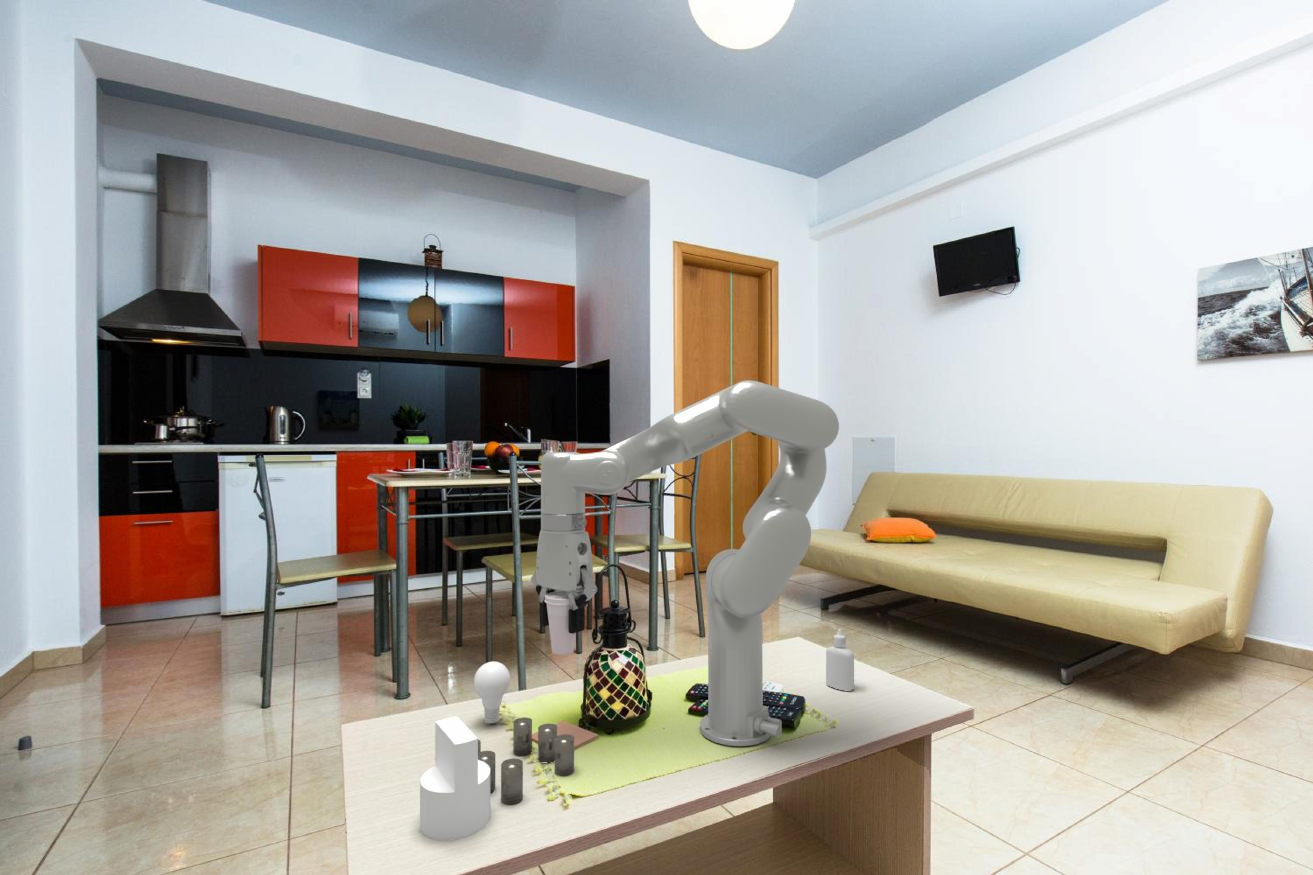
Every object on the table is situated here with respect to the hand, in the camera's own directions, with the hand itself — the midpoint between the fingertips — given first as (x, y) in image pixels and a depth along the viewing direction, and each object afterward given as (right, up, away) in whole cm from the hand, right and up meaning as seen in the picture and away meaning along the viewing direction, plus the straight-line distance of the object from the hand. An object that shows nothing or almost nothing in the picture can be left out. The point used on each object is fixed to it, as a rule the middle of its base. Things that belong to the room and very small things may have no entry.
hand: (562, 627), depth 109 cm
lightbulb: (-14, -19, +6) cm, 24 cm away
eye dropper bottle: (+54, -19, +23) cm, 62 cm away
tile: (0, -19, 0) cm, 19 cm away
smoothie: (0, -4, 0) cm, 4 cm away
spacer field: (-5, -19, -12) cm, 23 cm away
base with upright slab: (-11, -19, -24) cm, 33 cm away
